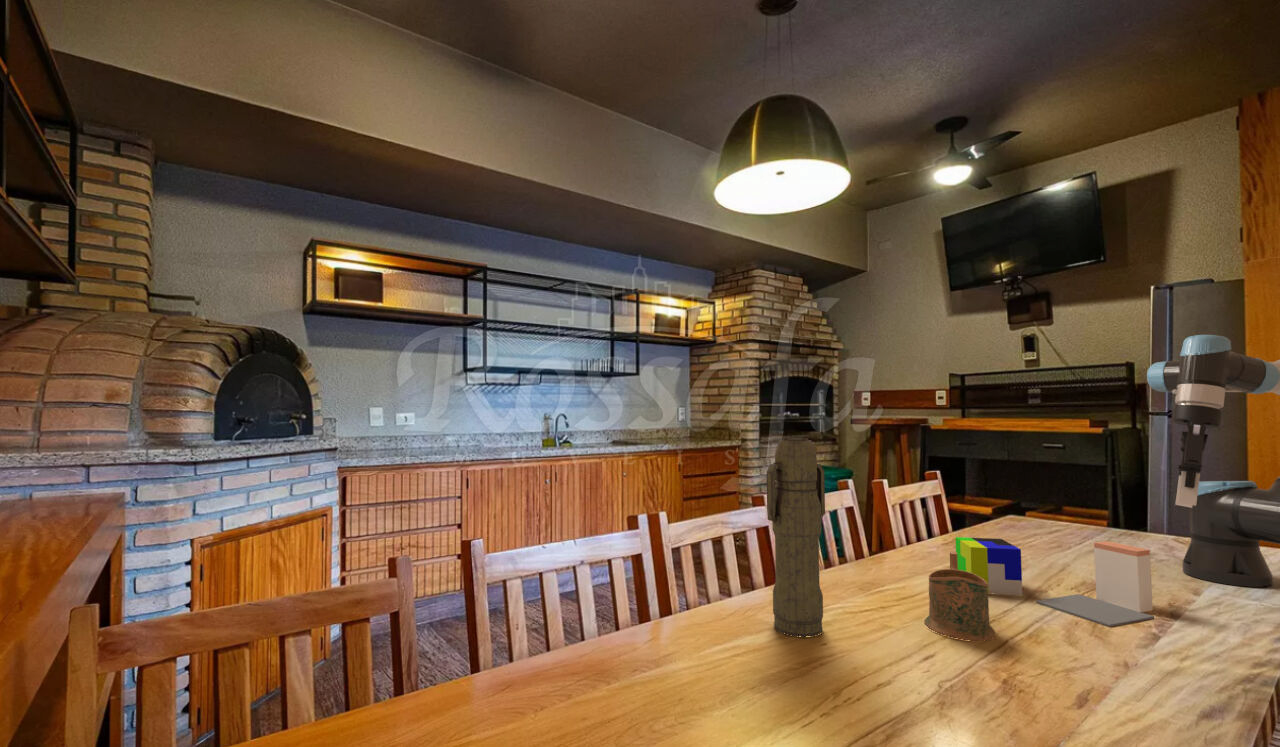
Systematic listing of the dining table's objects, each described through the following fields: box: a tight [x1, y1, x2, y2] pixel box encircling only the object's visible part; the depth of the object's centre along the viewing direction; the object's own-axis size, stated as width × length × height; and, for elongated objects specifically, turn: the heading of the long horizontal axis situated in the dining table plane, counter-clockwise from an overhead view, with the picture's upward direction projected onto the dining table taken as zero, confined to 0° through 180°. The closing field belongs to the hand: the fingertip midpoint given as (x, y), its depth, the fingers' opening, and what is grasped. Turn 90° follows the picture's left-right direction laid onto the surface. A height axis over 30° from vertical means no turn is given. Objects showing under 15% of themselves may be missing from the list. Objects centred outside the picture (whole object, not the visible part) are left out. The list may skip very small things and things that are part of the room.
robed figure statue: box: [766, 437, 826, 638], centre depth 108 cm, size 9×12×35 cm
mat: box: [1035, 593, 1155, 628], centre depth 116 cm, size 13×14×1 cm
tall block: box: [1093, 540, 1154, 613], centre depth 120 cm, size 4×8×12 cm, turn 20°
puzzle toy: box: [955, 536, 1023, 596], centre depth 131 cm, size 10×10×10 cm
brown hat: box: [923, 550, 997, 642], centre depth 110 cm, size 12×18×12 cm, turn 155°
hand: (1185, 505), depth 122 cm, fingers open, 13 cm apart
